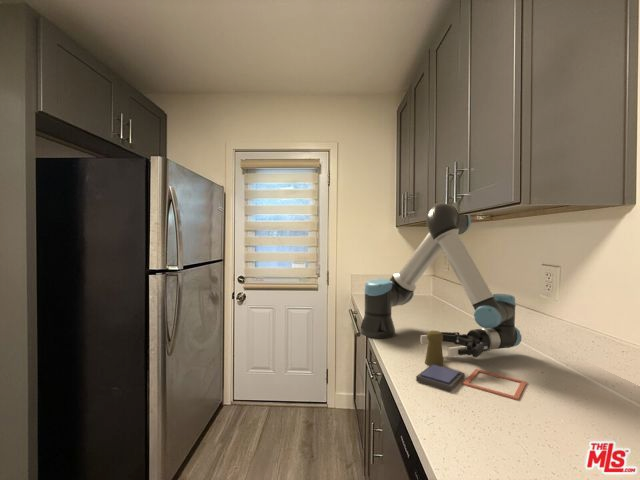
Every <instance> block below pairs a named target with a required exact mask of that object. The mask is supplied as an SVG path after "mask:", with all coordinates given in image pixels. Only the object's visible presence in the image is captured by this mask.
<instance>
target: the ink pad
mask: <svg viewBox="0 0 640 480" xmlns="http://www.w3.org/2000/svg"><path fill="white" fill-rule="evenodd" d="M464 379H465V372H462V371H460V370H457V369H456V370H454V369H451V368H448V367H445V366H443V367H441V366H437V365H430V366H427V367H426V368H425V369H424V370H423V371H421V372H420V373H418V374H417V375H416V377H415V382H418V383H421V384H425V385H426V386H431V387H435V388H437V389H441V390H444V391H447V392H450V393H451V392H452V391H453V390H454V389H455V388H456V387H457V386H458V385H459V384H460V383H461V382H462V381H464Z"/></svg>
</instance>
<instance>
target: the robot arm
mask: <svg viewBox="0 0 640 480" xmlns="http://www.w3.org/2000/svg"><path fill="white" fill-rule="evenodd" d="M425 219H426V220H425V222H426V227H427V229H428V233H427V234H426V236H425V237H424V238H423V240H422V241H421V243H420V244H419V245H418V246H417V248H416V249H415V251H414V252H413V253H412V255H410V258H409V259H408V260H407V261H406V263H405V264H404V265H403V267H402V268H401V270H400V271H399V272H397V271H396V272H394V273H393V275H392V276H391V277H390V279H389V278H374V279H370V280H367V281H366V282H365V284H364V286H365V287H364V315H363V318H362V321H361V324H360V329H359V330H360V331H359V332H360V334H361V335H362V336H364V337H369V338H372V339H373V338H374V339H390V338H393V337H394V336H396V328H395V324H394V321H393V318H392V308H393V307H398V306H403V305H405V304H408V303H409V302H411V300H412V299H413V297H414V295H415V292H414V291H415V290H416V288H417V285H416V283H417V282H418V281H419V280H420V279H421V277H422V276H423V275H424V273H425V272H427V269H428V268H429V267H430V266H431V265H432V263H433V262H434V261H435V259H436V258H437V257H438V255H439V254H440V253H441V252H443V254H444V256H445V257H446V259H447V261H448V262H449V265H450V267H451V268H452V270H453V272H454V274H455V276H456V278H457V279H458V281H459V283H460V285H461V287H462V288H463V291H464V292H465V294H466V296H467V298H468V300H469V301H470V304H471V306H472V307H473V309H474V313H473V319H474V321H475V322H476V324H477V325H478V326H479V327H481V328H477V329H471V330H469V331H468V332H467V334H466V333H464V334H463V333H462V334H460V332H459V331H456V332H447V331H440V332H441V333H442V334H443V341H442V342H443V343H451V344H452V343H453V344H454V345H456V346H451V347H447V357H448V358H452V357H460V356H466V355H467V356H472V357H473V358H477V357H479V356H480V355H481V354H483V353H485V352H490V351H491V350H493V351H494V350H499V349H510V348H514V347H516V346H519V344H520V343H521V342H522V334H521V332H520V330H519V328H517V327H516V326H515V324H516V320H515V319H516V298H515V296H513V295H512V294H507V293H494V294H493V293H492V292H491V290H490V288H489V286H488V284H487V282H486V281H485V279H484V277H483V276H482V274H481V272H480V271H479V268H478V267H477V265H476V263H475V261H474V260H473V257H472V255H471V254H470V252H469V251H468V249H467V247H466V245H465V244H464V242H463V241H462V238H461V237H460V235H462V234H464V233H466V232H467V231H468V230H469V228H470V226H471V223H472V219H471V215H470V214H469V215H459V214H458V212H457V210H456V208H455V207H454V205H452V204H449V203H439V204H435V205H433V206H432V207H431V208H430V209H429V210H428V212H427V215H426V218H425ZM419 340H420V344H422V345H423V344H428V339H427V334H423V335H421V334H420V339H419ZM442 342H441V343H442ZM457 345H458V346H457Z"/></svg>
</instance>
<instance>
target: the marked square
mask: <svg viewBox="0 0 640 480" xmlns="http://www.w3.org/2000/svg"><path fill="white" fill-rule="evenodd" d="M479 373H481V374H484V375H488V376H492V377H497V378H500V379H505V380H509V381H512V382H515V383H519V386H518V387H517V389H516V391H515V393H514V395H512V394H509V393H506V392H502V391H498V390H495V389H491V388H487V387H483V386H480V385H476V384H473V383H471V382H472V381H473V379H474V378H475V377H476V376H477V375H479ZM471 380H472V381H471ZM470 381H471V382H470ZM527 383H528V382H527V381H526V380H522V379H518V378H513V377H510V376H506V375H501V374H499V373H494V372H489V371H487V370H482V369H478V368H475V369H474V370H473V371H472V372H471V374H470V375H468V377H467V378H466V379H465V380H463V382H462V385H463V386H467V387H470V388H473V389H477V390H481V391H484V392H488V393H490V394H494V395H497V396H501V397H505V398H509V399H512V400H515V401H519V399H520V398H521V396H522V394H523V392H524V389H525V387H526V385H527Z"/></svg>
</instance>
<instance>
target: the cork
mask: <svg viewBox="0 0 640 480" xmlns="http://www.w3.org/2000/svg"><path fill="white" fill-rule="evenodd" d="M441 332H442V331H439V330H429V331H427V334H426V335H427V339H428V343H427V348H426V354H425V359H424V360H425V361H424V364H425V365H426V366H427V367H429V366H430V365H437V366H441V367H445V366H444V365H445V363H444V355H443V354H444V353H443V345H442V341H443V334H442V333H441Z"/></svg>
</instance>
